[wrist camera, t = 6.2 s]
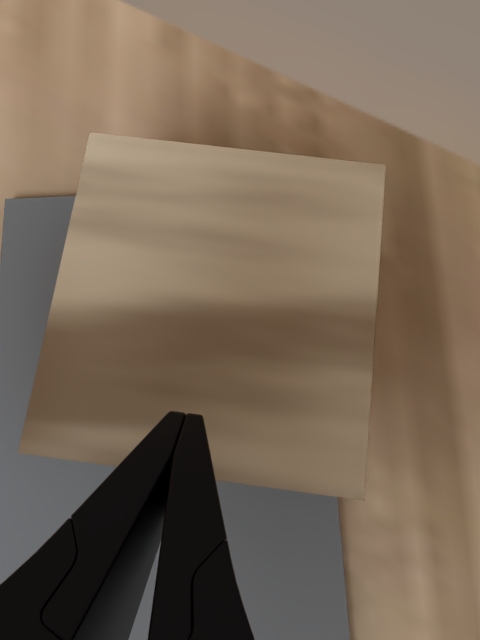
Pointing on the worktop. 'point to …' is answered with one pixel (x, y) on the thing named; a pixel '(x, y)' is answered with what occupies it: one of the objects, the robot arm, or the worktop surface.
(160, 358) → the maple block
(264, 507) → the rubber mat
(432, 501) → the worktop surface
